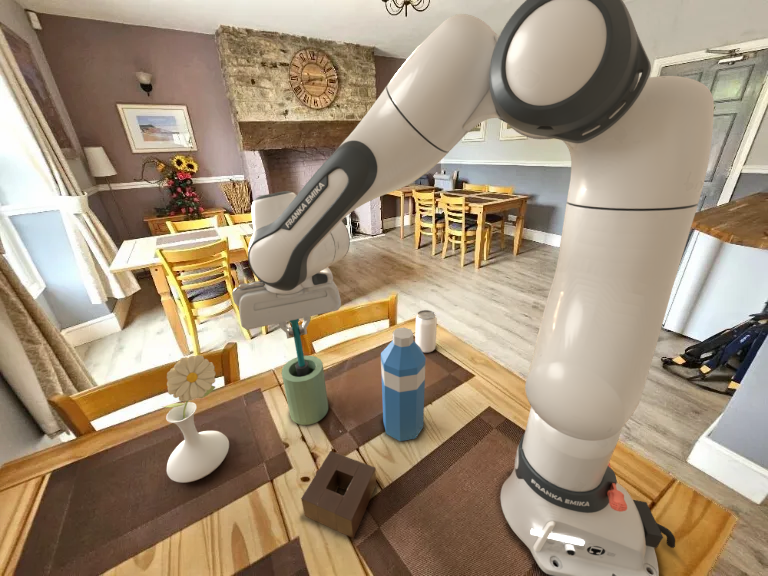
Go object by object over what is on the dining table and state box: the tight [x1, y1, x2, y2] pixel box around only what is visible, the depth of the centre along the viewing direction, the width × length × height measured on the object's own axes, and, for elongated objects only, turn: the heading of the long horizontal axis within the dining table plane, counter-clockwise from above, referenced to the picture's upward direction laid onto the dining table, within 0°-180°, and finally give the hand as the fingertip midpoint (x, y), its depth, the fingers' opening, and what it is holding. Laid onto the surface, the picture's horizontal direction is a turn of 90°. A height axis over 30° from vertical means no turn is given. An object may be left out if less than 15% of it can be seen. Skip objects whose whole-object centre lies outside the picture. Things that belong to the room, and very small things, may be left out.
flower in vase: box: [160, 354, 230, 483], centre depth 60 cm, size 13×11×25 cm
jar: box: [281, 355, 329, 426], centre depth 74 cm, size 9×9×13 cm
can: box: [414, 309, 438, 354], centre depth 96 cm, size 6×6×12 cm
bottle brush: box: [289, 319, 310, 377], centre depth 69 cm, size 3×3×19 cm
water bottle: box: [380, 327, 427, 442], centre depth 67 cm, size 9×9×25 cm
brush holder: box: [300, 450, 377, 539], centre depth 56 cm, size 10×10×5 cm
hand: (296, 335), depth 67 cm, fingers closed on bottle brush
